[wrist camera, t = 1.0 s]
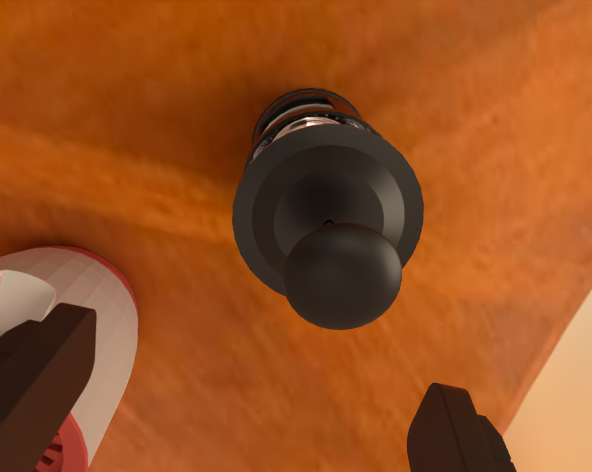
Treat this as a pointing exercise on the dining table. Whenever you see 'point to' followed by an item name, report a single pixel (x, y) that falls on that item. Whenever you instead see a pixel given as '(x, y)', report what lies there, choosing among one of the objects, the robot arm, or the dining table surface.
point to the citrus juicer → (109, 336)
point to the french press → (326, 210)
